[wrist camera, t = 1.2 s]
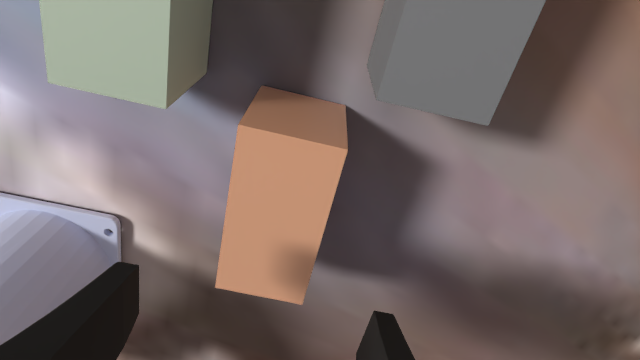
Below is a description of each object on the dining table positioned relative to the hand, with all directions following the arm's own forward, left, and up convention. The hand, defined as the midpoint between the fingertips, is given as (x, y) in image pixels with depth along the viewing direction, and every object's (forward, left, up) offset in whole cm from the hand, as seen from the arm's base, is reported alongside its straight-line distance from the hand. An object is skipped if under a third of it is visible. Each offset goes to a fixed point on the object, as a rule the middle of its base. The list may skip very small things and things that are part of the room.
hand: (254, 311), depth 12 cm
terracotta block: (0, 0, -10) cm, 10 cm away
